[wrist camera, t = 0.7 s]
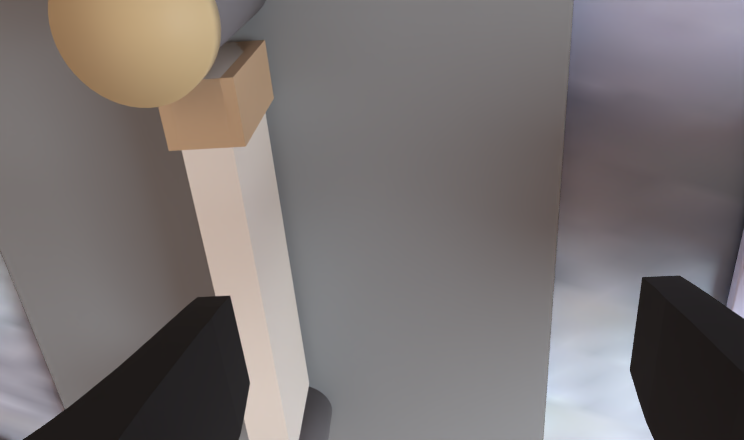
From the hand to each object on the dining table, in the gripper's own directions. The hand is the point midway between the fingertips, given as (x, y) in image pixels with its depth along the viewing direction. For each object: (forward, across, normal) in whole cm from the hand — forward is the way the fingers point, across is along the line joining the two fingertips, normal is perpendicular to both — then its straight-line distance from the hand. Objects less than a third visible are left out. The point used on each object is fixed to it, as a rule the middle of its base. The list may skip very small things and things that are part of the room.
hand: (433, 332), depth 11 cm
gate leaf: (+8, +5, +2) cm, 10 cm away
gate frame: (+9, +5, +3) cm, 11 cm away
